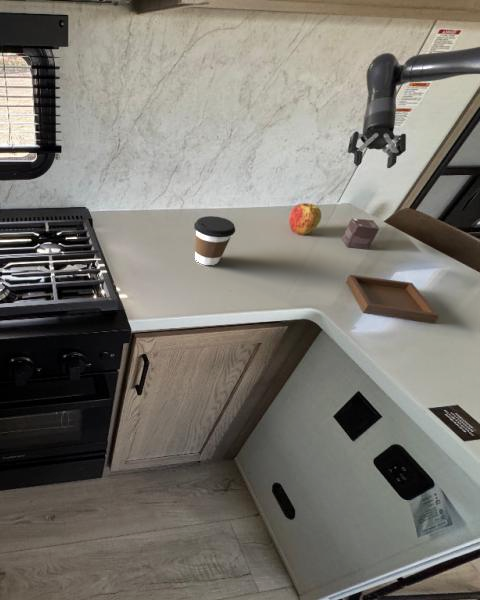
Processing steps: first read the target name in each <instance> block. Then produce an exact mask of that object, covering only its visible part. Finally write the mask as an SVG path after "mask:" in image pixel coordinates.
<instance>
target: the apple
mask: <svg viewBox="0 0 480 600" xmlns="http://www.w3.org/2000/svg"><path fill="white" fill-rule="evenodd" d="M321 219H322V211H321V209H320V208H319V207H318V206H317V205H315V204H313V203H309V202H304V203H299V204H297V205H295V206H294V207H293V208H292V210H291V212H290V213H289V217H288V222H289V228H290V230H291V232H292V233H293V234H297V235H302V236H303V235H308V234H310V233H312V232H313V231H314V230H315V229H316V228H317V227H318V225H319V224H320V222H321Z"/></svg>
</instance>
